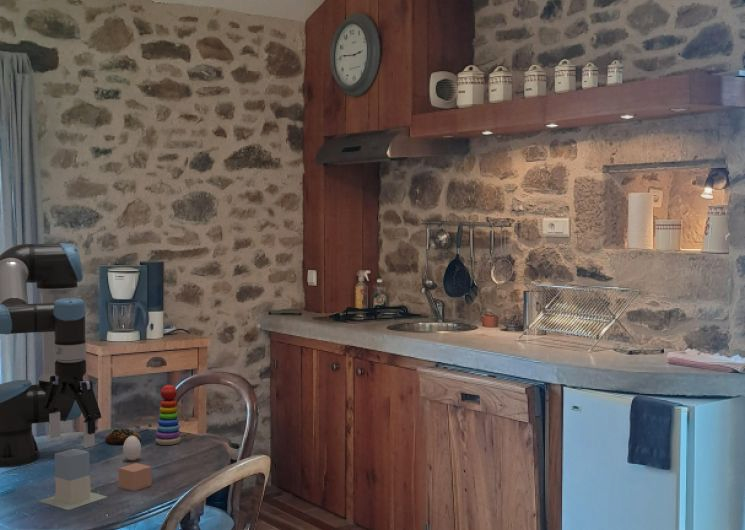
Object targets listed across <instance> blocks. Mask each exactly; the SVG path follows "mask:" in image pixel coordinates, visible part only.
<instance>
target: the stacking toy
mask: <svg viewBox="0 0 745 530" xmlns="http://www.w3.org/2000/svg"><path fill="white" fill-rule="evenodd" d="M177 395H178V391H177V388H176V387H175V386H174V385H172V384H166V385H164V386H163V387H162V388H161V390H160V397H161V398H162V400H161V401H160V407H159V415H158V417H159V419H158V421H157V423H158V425H157V431H156V433H155V436H156V437H155V442H156V444H158V445H159V446H172V445H173V446H174V445H177V444H179V443H180V442H181V440H182V437H181V431H180V427H181V426H180V425H179V422H180V419H179V418H178V417H179V413H178V407H177V406H176V405H177V403H178V401H177V400H176V399H175V398H176V397H177Z"/></svg>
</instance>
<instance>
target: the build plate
mask: <svg viewBox="0 0 745 530" xmlns="http://www.w3.org/2000/svg"><path fill="white" fill-rule="evenodd" d="M90 495H91V498H88V499H85V500H82V501H79V502H76V503H73V504H68V503H65V502H61V501H58V500H56V495H52V496H50V497H47V498H43V499H40V500H39V502H40V503H43V504H46V505H50V506H53V507H57V508H60V509H64V510H68V511H70V510H73V509H76V508H79V507H82V506H86V505H88V504H91V503H93V502H97V501H99V500H103V499H105V498H108V496H106V495H102V494H99V493H96V492H92V491H90Z"/></svg>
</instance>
